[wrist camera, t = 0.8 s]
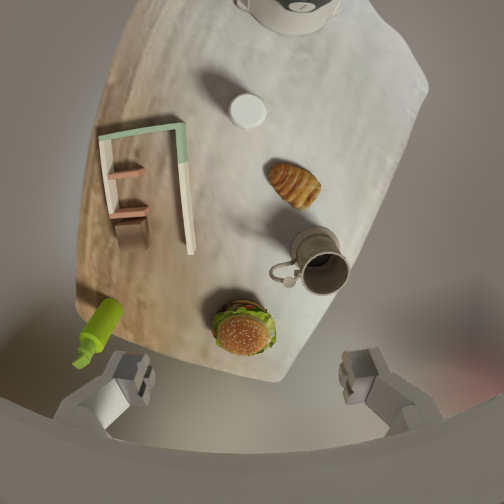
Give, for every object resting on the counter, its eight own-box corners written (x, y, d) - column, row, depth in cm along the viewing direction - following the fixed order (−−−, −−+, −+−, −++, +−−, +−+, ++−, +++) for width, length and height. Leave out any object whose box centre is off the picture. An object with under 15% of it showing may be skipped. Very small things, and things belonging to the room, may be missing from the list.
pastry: (259, 182, 50) (260, 187, 46) (281, 152, 47) (284, 154, 44) (301, 211, 52) (305, 217, 48) (323, 182, 49) (328, 187, 46)
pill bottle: (231, 97, 43) (226, 90, 34) (265, 97, 43) (268, 90, 34) (231, 128, 45) (225, 129, 36) (264, 128, 45) (267, 129, 36)
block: (123, 219, 52) (114, 226, 49) (147, 217, 52) (139, 224, 49) (128, 244, 55) (120, 252, 51) (151, 242, 55) (145, 251, 51)
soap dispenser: (130, 309, 62) (97, 370, 44) (114, 320, 64) (82, 378, 46) (113, 291, 60) (74, 349, 42) (98, 304, 62) (61, 359, 44)
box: (106, 135, 45) (98, 136, 42) (185, 122, 44) (181, 122, 42) (123, 249, 55) (118, 256, 52) (196, 248, 55) (193, 254, 52)
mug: (341, 227, 53) (362, 254, 42) (335, 271, 57) (352, 305, 46) (267, 226, 53) (271, 254, 42) (266, 272, 57) (269, 307, 46)
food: (268, 345, 66) (269, 369, 59) (210, 335, 65) (206, 359, 58) (284, 301, 60) (287, 324, 53) (219, 288, 59) (215, 312, 52)
